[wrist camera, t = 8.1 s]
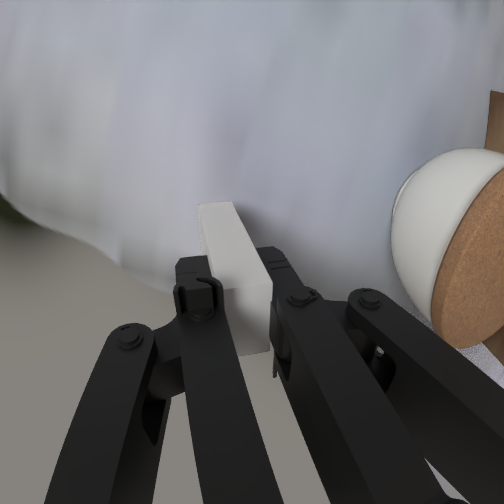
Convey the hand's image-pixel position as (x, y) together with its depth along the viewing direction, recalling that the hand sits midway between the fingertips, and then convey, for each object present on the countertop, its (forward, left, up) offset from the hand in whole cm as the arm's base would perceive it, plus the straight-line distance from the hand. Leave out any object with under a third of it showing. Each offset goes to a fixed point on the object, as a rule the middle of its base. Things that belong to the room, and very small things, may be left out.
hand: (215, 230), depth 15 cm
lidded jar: (0, +14, -2) cm, 14 cm away
